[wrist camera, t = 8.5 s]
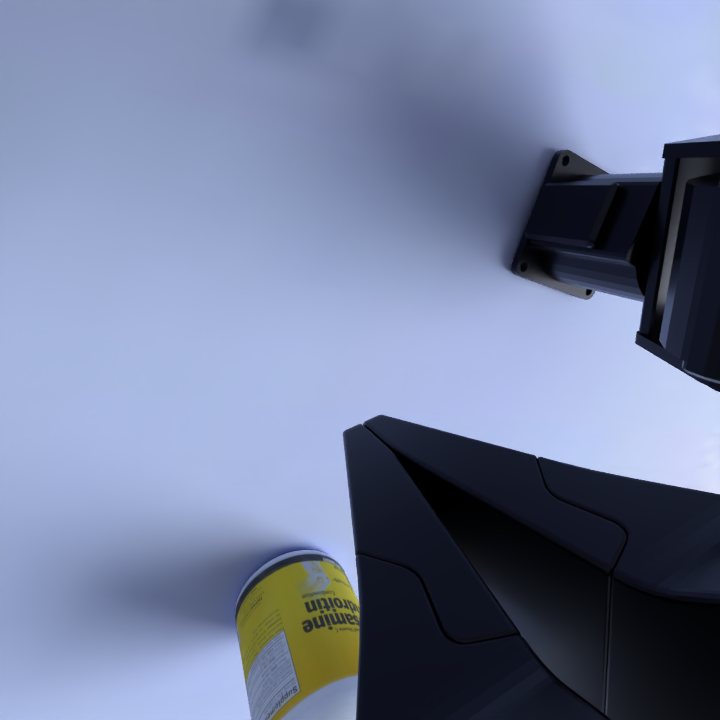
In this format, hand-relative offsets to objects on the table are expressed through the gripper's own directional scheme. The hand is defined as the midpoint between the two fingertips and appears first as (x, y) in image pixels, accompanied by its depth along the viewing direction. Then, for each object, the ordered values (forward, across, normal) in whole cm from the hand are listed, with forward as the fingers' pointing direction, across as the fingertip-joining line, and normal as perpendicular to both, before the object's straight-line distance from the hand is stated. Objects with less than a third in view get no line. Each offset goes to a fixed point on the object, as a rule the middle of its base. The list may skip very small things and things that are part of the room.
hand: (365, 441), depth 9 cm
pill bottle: (+12, +4, +17) cm, 21 cm away
